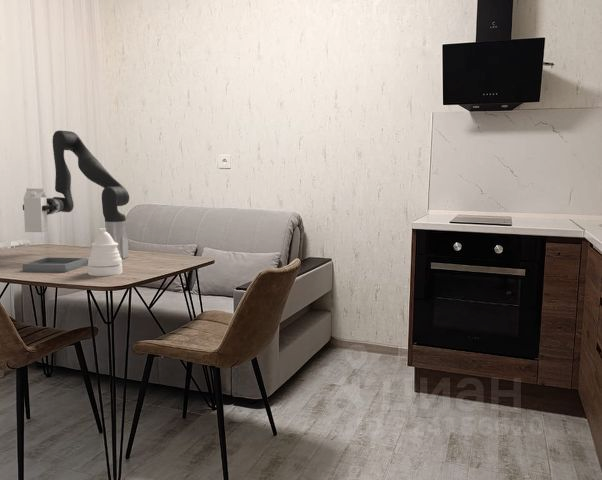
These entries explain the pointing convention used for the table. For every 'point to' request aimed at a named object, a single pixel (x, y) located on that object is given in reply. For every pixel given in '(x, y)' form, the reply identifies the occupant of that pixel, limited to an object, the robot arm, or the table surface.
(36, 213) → the milk carton
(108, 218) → the robot arm
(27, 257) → the table surface
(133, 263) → the table surface
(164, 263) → the table surface
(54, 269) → the charcoal tray
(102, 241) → the honey pot
